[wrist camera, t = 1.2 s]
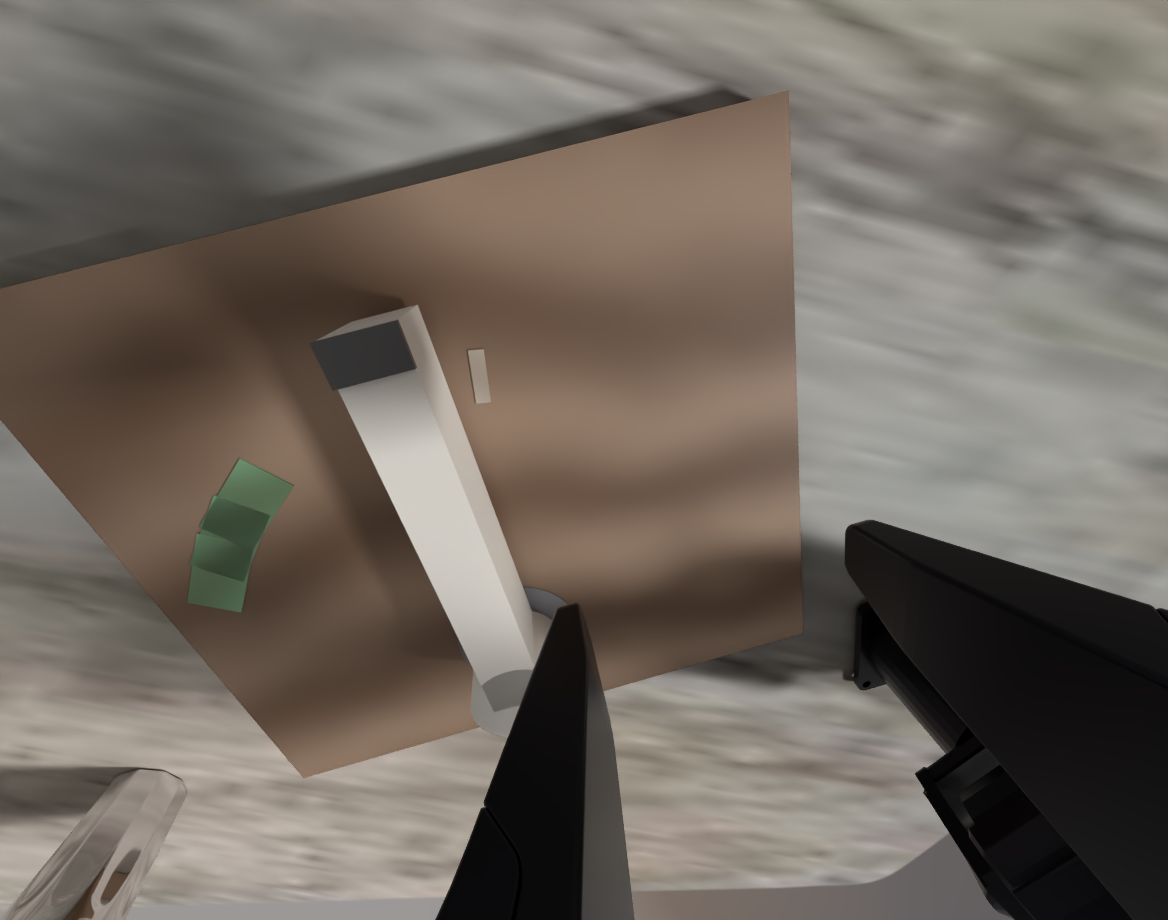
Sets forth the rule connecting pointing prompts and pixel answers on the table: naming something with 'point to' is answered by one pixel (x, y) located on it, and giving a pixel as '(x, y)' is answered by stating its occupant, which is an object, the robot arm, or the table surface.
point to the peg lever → (439, 499)
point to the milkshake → (105, 853)
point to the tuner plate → (485, 406)
